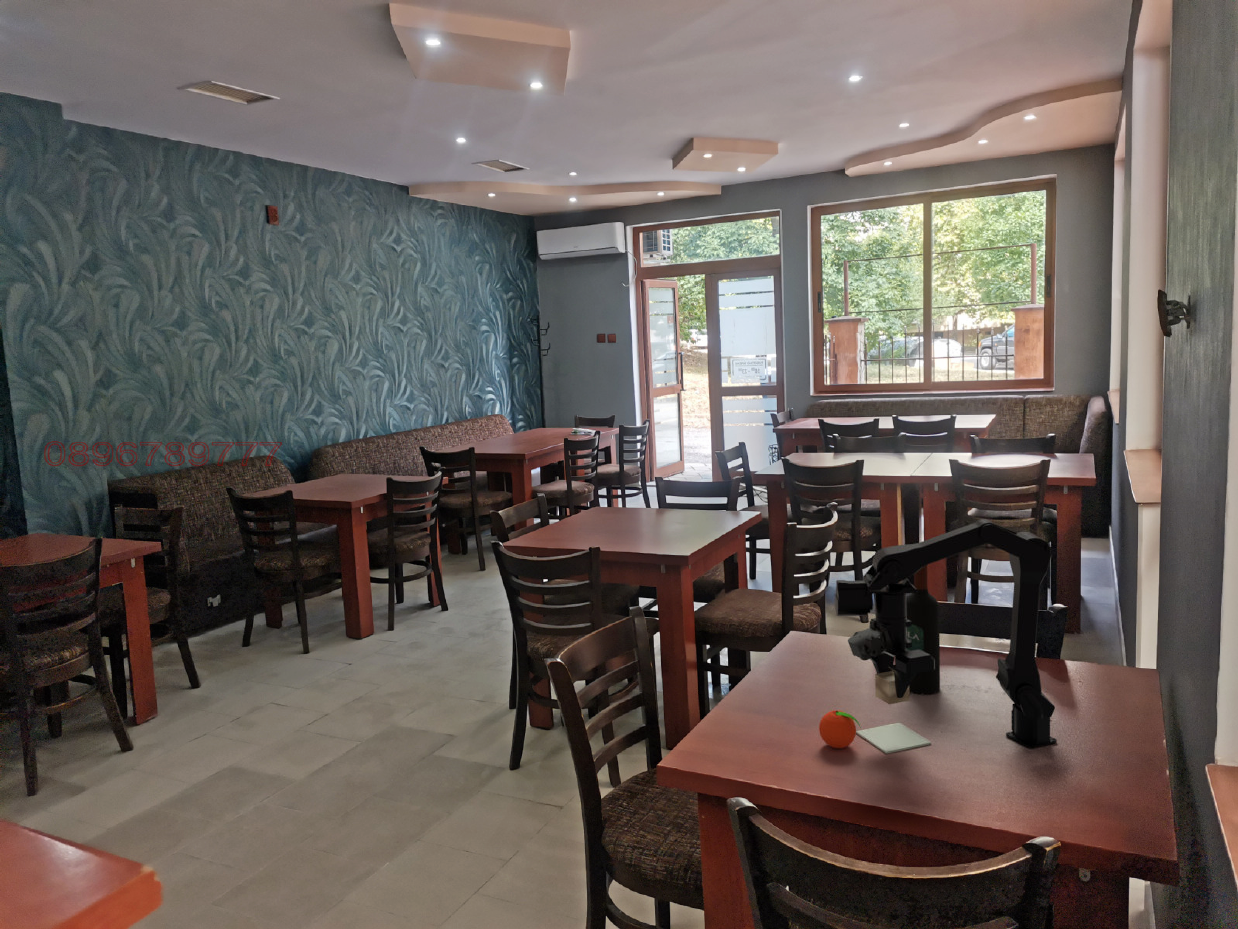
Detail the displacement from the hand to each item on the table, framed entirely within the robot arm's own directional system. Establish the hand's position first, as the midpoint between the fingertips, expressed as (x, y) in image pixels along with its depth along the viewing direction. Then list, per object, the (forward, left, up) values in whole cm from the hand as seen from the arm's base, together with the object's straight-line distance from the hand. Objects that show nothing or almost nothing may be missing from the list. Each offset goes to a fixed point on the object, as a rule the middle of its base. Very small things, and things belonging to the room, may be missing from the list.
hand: (892, 693), depth 169 cm
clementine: (+1, +11, -9) cm, 15 cm away
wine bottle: (+19, -21, -9) cm, 30 cm away
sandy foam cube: (0, 0, -1) cm, 1 cm away
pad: (0, 0, -9) cm, 9 cm away
